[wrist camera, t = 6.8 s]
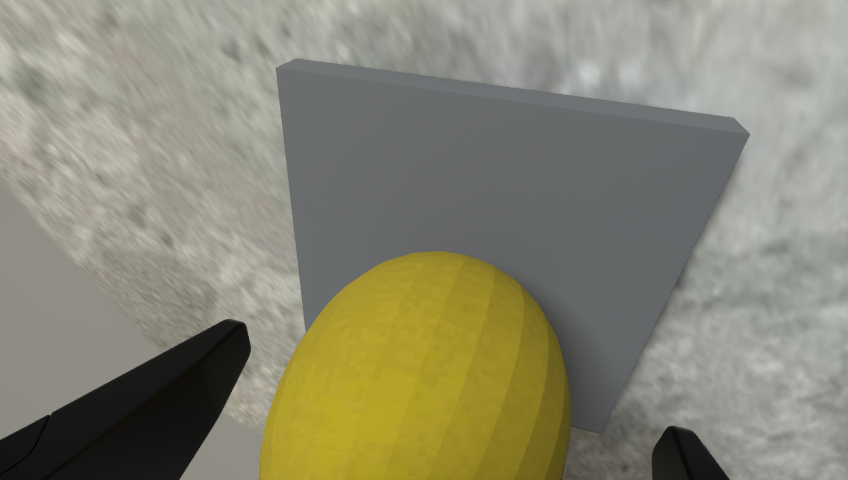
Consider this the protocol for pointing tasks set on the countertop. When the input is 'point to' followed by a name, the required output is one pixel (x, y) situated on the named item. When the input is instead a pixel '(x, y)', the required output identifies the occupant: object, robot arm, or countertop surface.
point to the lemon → (423, 381)
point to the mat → (505, 199)
